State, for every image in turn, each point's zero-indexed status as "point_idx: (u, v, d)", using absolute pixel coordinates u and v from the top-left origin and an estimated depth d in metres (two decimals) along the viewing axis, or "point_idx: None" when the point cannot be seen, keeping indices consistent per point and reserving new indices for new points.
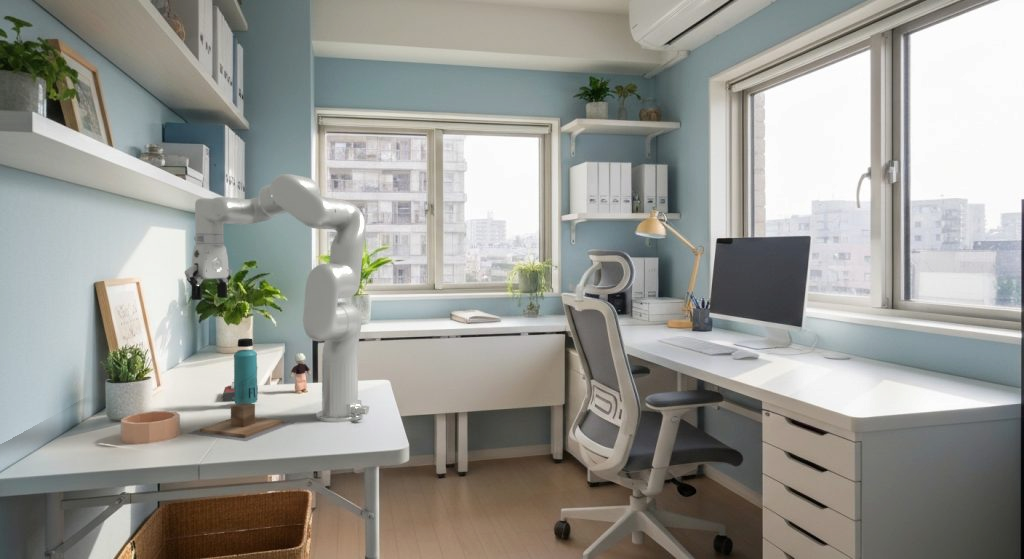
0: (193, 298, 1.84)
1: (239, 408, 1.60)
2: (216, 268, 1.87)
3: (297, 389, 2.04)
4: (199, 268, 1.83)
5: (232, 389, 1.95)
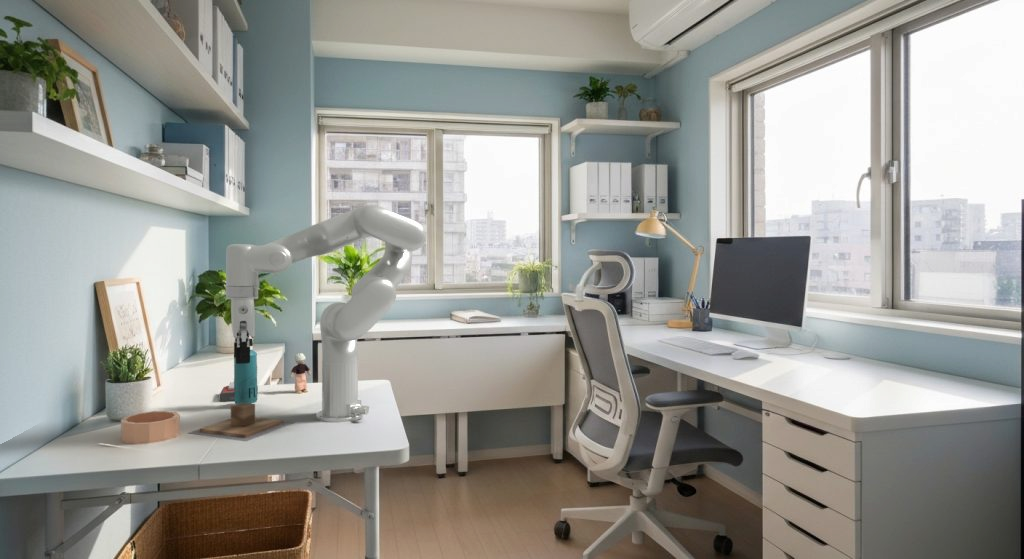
0: (238, 362, 1.57)
1: (239, 408, 1.60)
2: None
3: (297, 389, 2.04)
4: (248, 327, 1.57)
5: (229, 389, 1.95)
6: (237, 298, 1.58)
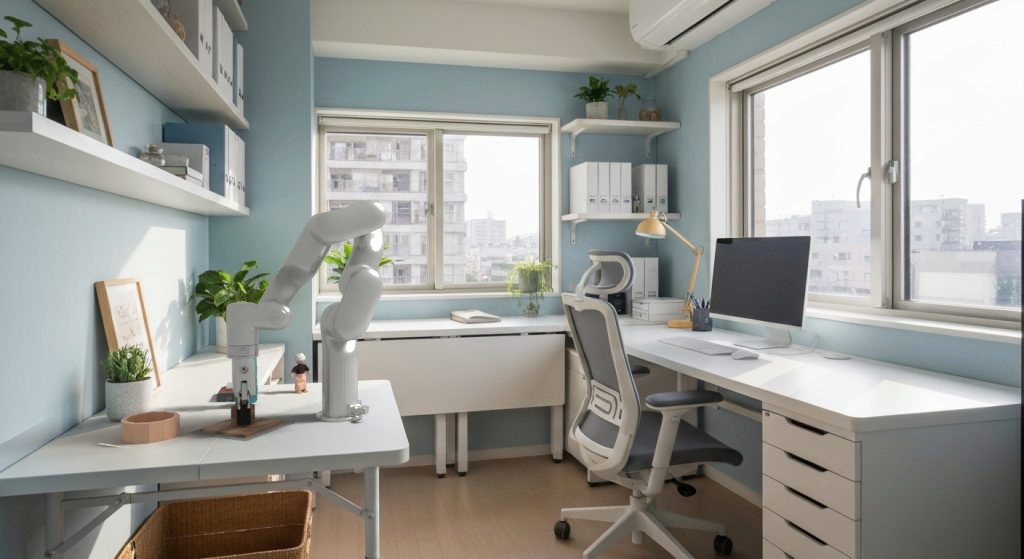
0: (239, 424, 1.59)
1: None
2: None
3: (297, 389, 2.04)
4: (249, 386, 1.58)
5: (226, 389, 1.94)
6: (238, 357, 1.58)
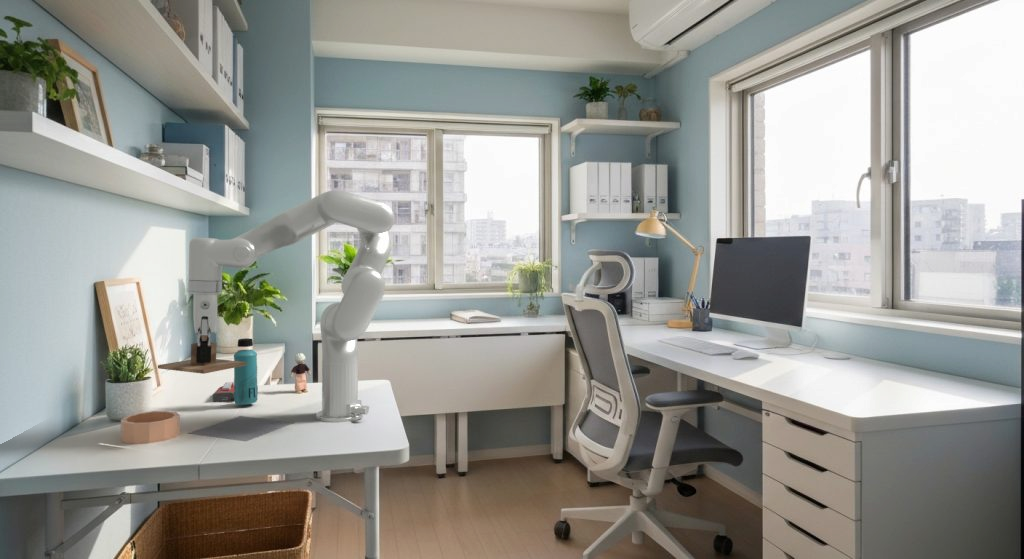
0: (199, 361, 1.55)
1: None
2: None
3: (297, 389, 2.04)
4: (210, 323, 1.54)
5: (223, 389, 1.94)
6: (199, 293, 1.54)
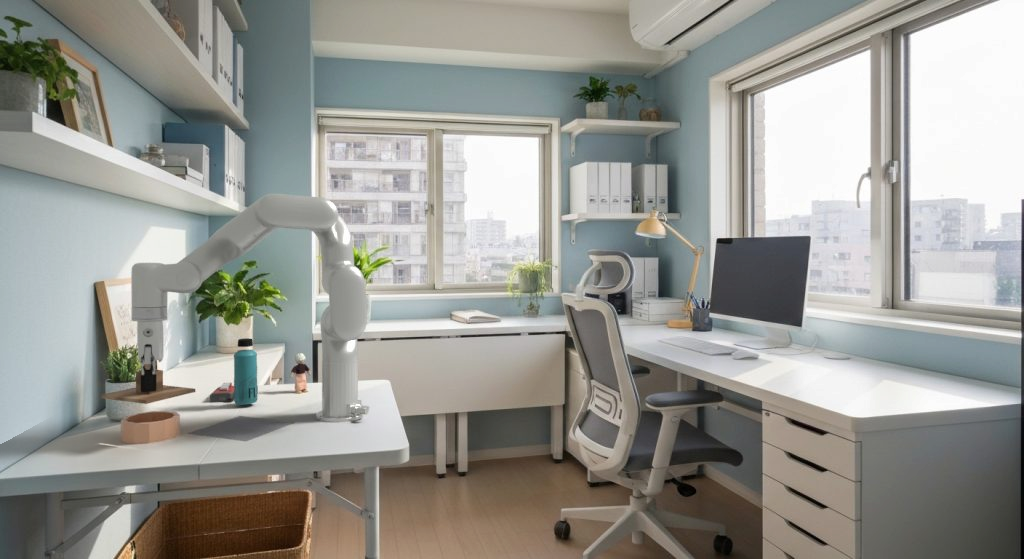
0: (143, 390, 1.50)
1: None
2: None
3: (297, 389, 2.04)
4: (154, 350, 1.49)
5: (221, 390, 1.94)
6: (142, 320, 1.49)
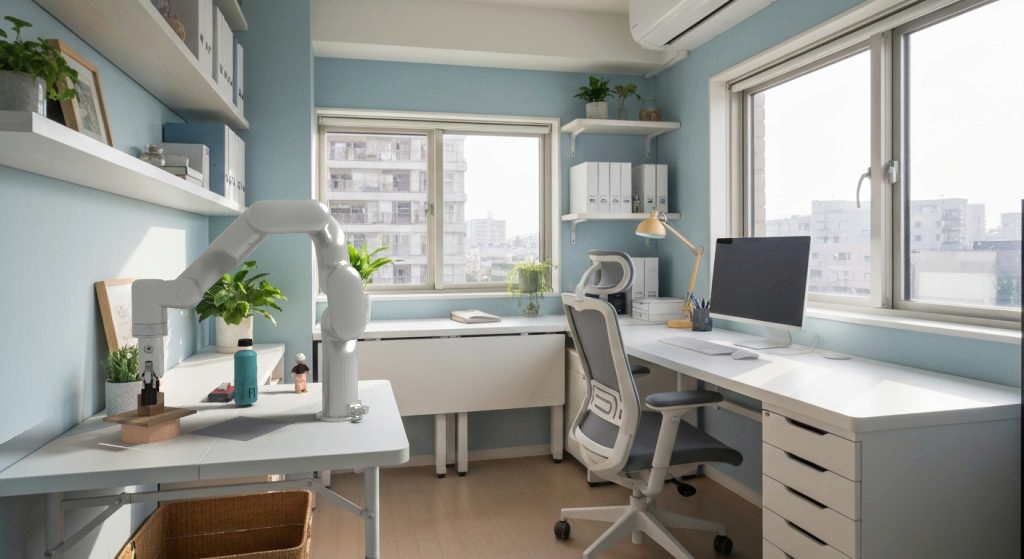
0: (144, 404, 1.49)
1: None
2: (163, 363, 1.54)
3: (297, 389, 2.04)
4: (155, 367, 1.50)
5: (218, 390, 1.94)
6: (142, 336, 1.50)
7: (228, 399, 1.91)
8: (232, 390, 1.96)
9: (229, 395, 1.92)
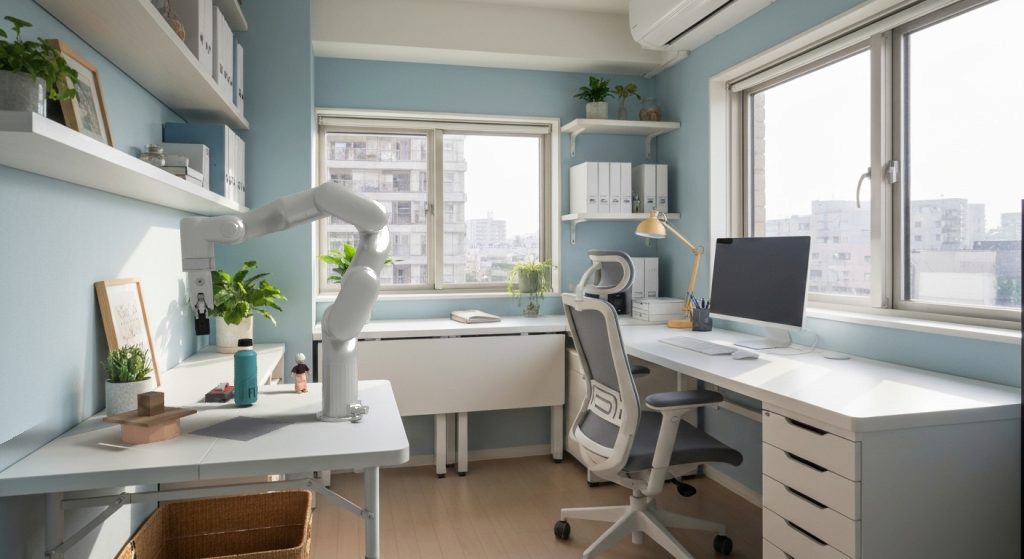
0: (198, 334, 1.57)
1: (145, 396, 1.52)
2: None
3: (297, 389, 2.04)
4: (206, 298, 1.58)
5: (216, 390, 1.93)
6: (193, 270, 1.57)
7: (225, 399, 1.90)
8: (230, 390, 1.96)
9: (226, 395, 1.92)
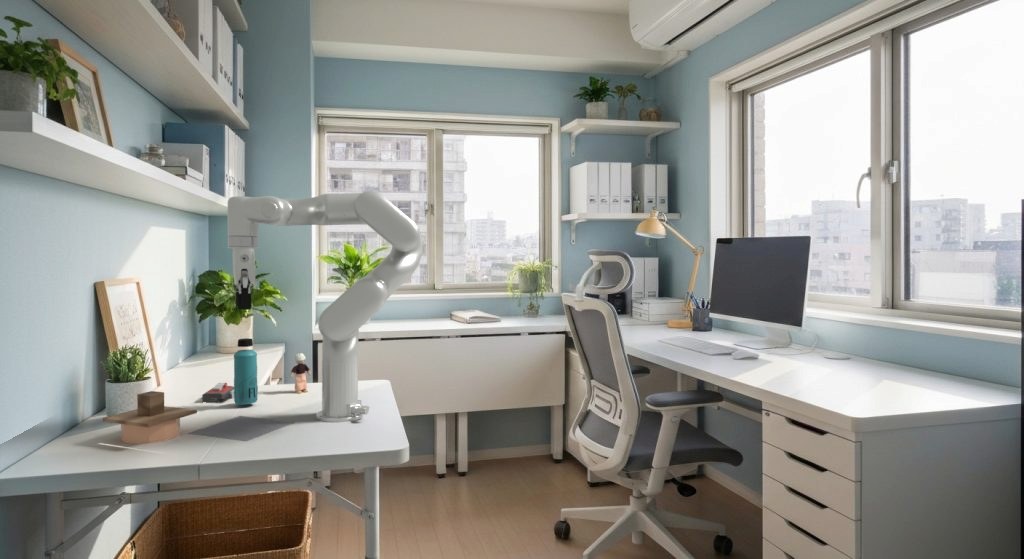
0: (240, 308, 1.65)
1: (145, 396, 1.52)
2: None
3: (297, 389, 2.04)
4: (249, 275, 1.66)
5: (213, 390, 1.93)
6: (238, 247, 1.66)
7: (222, 399, 1.90)
8: (227, 390, 1.96)
9: (223, 395, 1.91)
